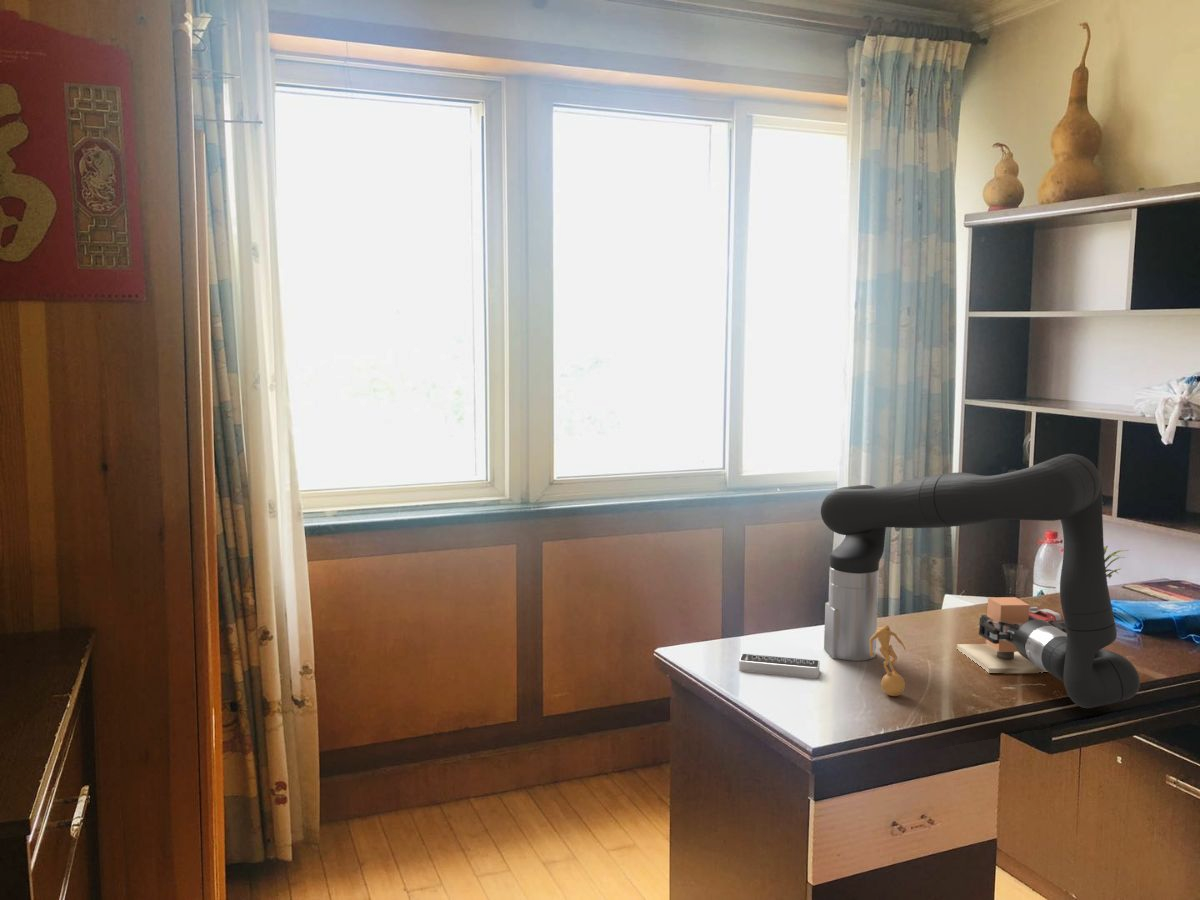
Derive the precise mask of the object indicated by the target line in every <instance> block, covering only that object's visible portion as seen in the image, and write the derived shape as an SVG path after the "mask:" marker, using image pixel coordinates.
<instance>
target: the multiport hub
mask: <svg viewBox="0 0 1200 900" xmlns="http://www.w3.org/2000/svg"><path fill="white" fill-rule="evenodd" d="M738 661H739V662H738V670H739V671H740V672H749V673H750V672H751V673H757V674H758V673H760V674H770V675H781V676H791V677H801V678H810V679H818V678H819V676H820V664H821V663H820V660H817V659H807V658H806V659H805V658H796V657H795V658H793V657H783V656H773V655H761V654H752V653H750V654H749V653H742V654H741V655H740V658H739V660H738Z"/></svg>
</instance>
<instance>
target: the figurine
mask: <svg viewBox="0 0 1200 900" xmlns="http://www.w3.org/2000/svg"><path fill="white" fill-rule="evenodd" d="M890 628H891V627H890V626H889V625H885V626H878V627H877V628H876V633H875V634H874V635H873V636H872V637H871V638H870V640H869V642H870V656H872V659H873V657H874V655H875V656H876V653H875V654H874V653H873V652H872V651H873V645H872V644H873V640H874V639H876V640H878V642H879V644H880V646H881V647H880V648H879V651H880V653H881V655H882V657H883V658H884V659H885V660H884V661H883V666H884V670H885V672H886V674H884V675H883V677H882V679H881V681H880V685H881V689H882V691H883V692H884V693H885V694H886V695H887V696H890V697H898V696H900V695H902V693H904V691H905V688H906V682H905V680H904V677H903V676H902V675H900V674H899V673H898V671H896V669H895V668H894V665H893V664H894V663H895V662H896V661H897V660H898V655H897V654H896V652H895V651H894V648H893V645H892V644H890V642H891V641H890V640H891V636H892V637H894V638H895V639H896V640H897V642H898V643H899V644H900V645H901V646H902V647H903V649H904V651H906V647H905V645H904V643H903V642H902V640H901V639H900V638H899V637H898V635H897V633H895V632H893V631H891V629H890ZM873 654H874V655H873ZM874 658H875V657H874ZM888 664H889V667H890V669H891V671H890V670H889V668H888V666H887V665H888Z"/></svg>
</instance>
